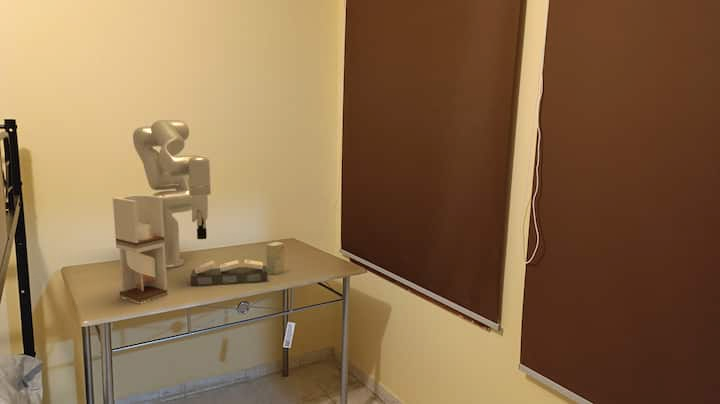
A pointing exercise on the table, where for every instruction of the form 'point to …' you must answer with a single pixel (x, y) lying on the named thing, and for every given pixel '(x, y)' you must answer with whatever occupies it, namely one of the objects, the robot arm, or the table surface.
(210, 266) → the rocker
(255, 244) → the table surface
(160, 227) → the display case
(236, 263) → the cream flat rectangular block
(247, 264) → the rocker
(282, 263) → the skincare box
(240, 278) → the power strip
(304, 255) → the table surface
